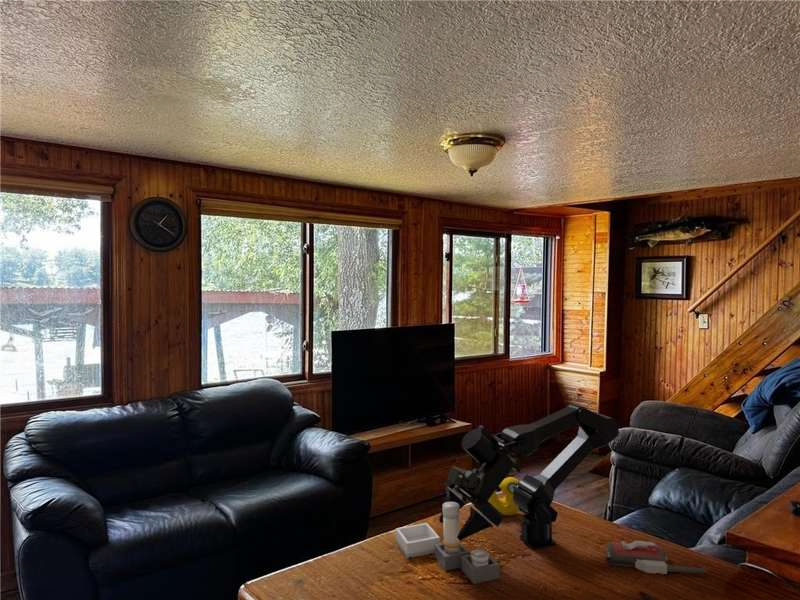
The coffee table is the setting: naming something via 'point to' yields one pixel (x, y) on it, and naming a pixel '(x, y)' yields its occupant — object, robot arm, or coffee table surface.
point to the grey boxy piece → (480, 570)
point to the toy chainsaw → (643, 557)
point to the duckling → (506, 503)
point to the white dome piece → (479, 558)
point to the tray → (416, 540)
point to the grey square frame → (449, 556)
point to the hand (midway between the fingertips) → (449, 530)
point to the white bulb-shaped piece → (451, 527)
